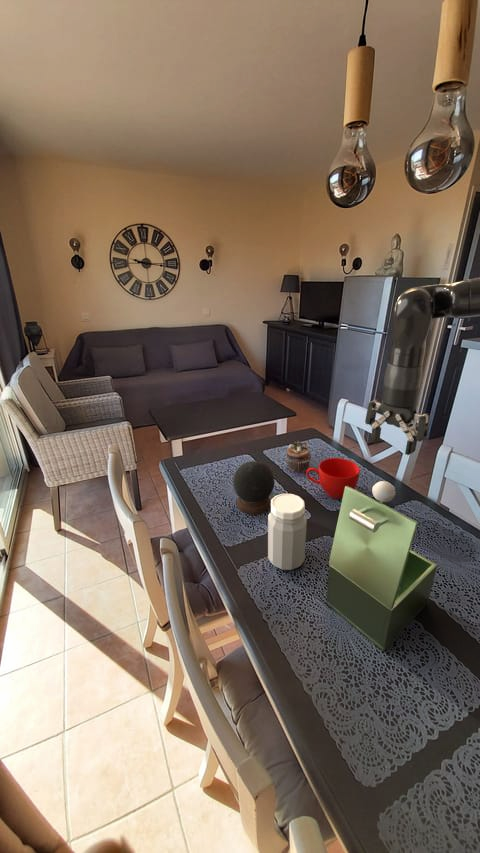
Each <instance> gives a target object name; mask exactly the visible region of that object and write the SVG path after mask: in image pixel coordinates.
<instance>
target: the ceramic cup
mask: <svg viewBox="0 0 480 853" xmlns="http://www.w3.org/2000/svg"><path fill="white" fill-rule="evenodd" d="M310 471H311V472H315V473H316V474H317V476H318V478H319V480H318V479H315V478H313V477H312V476H310V474H309V472H310ZM305 472H306V473H305V474H306V477H307V478H308V479H309V480H310V481H311V482H313V483H314V484H315V483H316V484H318V485H320V487H321V488H322V489H323V491H324V492H325V493H326V494H327V496H329V497H331V498H333V499H337V500H338V499H339V500H340V499H341V500H342V499H343V494H344V490H345V486H349V487H351V488H353V489H355V490H356V487H357V484H358V482H359V477H360V474H361V473H360V472H361V469H360V467H359V466H358V464H356V463H355V462H354V461H352V460H349V459H346V458H341V457H331V458H325V459H323V460H321V462H320V463H319V464H318V469H317V468H315V467H308V470H306V471H305Z"/></svg>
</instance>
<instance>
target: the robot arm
mask: <svg viewBox="0 0 480 853" xmlns="http://www.w3.org/2000/svg"><path fill="white" fill-rule="evenodd" d="M393 313H394V315H393V324H392V327H393V328H392V339H391V342H390V346H389V352H388V359H387V364H386V369H385V372H384V377H383V386H382V394H381V402H380V401H379V400H378V399H374V400H371V401H369V402H368V405H367V410H366V415H365V421H364V423H365V424H366V425H369V426H370V427H371V434H370V435H371V436H370V438H371V440H372V441H371V442H372V443H373V444H377V443H379V442H380V440H381V433H382V427H381V426H383V424H384V423H386V425H388V426H389V425H390V426H394V427H396V428H398V429H399V428H401V430H402V432H403V433H404V434H405V436H406V437H407V441H406V446H405V452H404V454H405V455H406V456H410V455H412V454H414V453H415V452H416V449H417V444H418V442H423V441H424V440H426V439H427V438H428V434H429V427H430V420H431V415H430V413H424V414H423V413H419V412H417V405H418V400H419V395H420V388H421V383H422V378H423V367H424V366H423V365H424V359H425V355H426V347H427V337H428V334H429V330H430V326H431V322H432V320H433V319H434V320H435V319H440V318H453V319H464V318H465V319H466V318H473V317H480V277H474V278H468V279H464V280H459V281H455V282H451V283H440V284H431V285H422V286H415V287H411V288H408V289H406V290H405V291H403V292H402V293H401V294H400V295H399V297H398V299H397V301H396V303H395V307H394V312H393ZM378 410H379V411H380V413H381V416H380V417H378V418H377V412H378ZM376 418H377V419H376ZM413 420H416V424H417V426H416V424H415V423H414V421H413ZM416 427H417V429H416Z"/></svg>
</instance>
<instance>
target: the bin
mask: <svg viewBox="0 0 480 853" xmlns="http://www.w3.org/2000/svg"><path fill="white" fill-rule="evenodd" d="M437 568H438V564H437V563H435V562H434V561H432V560H429V559H428V558H426V557H425V556H422V555H421V554H419V553H418V552H416V551H414V550H412V549H410V552H409V556H408V559H407V563H406V566H405V569H404V573H403V576H402V579H401V583H400V586H399V590H398V593H397V596H396V600H395V603H394V607H393V608H392V609H389V608H388V607H387V606H385V605H384V604H383V603H381V602H380V601H378V600H377V599H376V598H374V597H373V596H372V595H370V594H369V593H368V592H366V591H365V590H363V589H362V588H361V587H359V586H358V585H357V584H355V583H354V582H353V581H351V580H350V579H349V578H347V577H346V576H344V575H343V574H342V573H340V572H339V571H338V570H336V569H335V568H334V567H332V566H331V565H329V566H328V577H327V587H326V598H325V605H327V606H328V607H329V608H330V609H331V610H333V611H334V612H335V613H336V614H338V615H339V616H340V617H341V618H342V619H343V620H344V621H346V622H347V623H348V624H349V625H351V627H353V628H354V629H355V630H357V632H359V633H360V634H361V635H362V636H364V638H366V639H367V640H368V641H370V642H371V643H372V644H373V646H374V645H375V646H376V647H377V648H378V649H379V650H380V651H381V652H382V653H383V652H385V651H386V650H387V649H388V647H390V646H391V644H392V643H393V642H394V641H395V640H396V639H397V638H398V637H399V636H400V634H402V633H403V631H404V630H405V629H406V628H407V627H408V626H409V625H410V624H411V622H412V621H414V620H415V619H416V618H417V617H418V615H419V614H421V612H422V611H423V610H424V609H425V607H427V606H428V603H429V599H430V595H431V593H432V588H433V584H434V580H435V576H436V573H437Z"/></svg>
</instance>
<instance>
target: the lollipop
mask: <svg viewBox="0 0 480 853" xmlns="http://www.w3.org/2000/svg"><path fill="white" fill-rule="evenodd" d="M371 491H372V495H373V497H374V498H375V500H376V501H378V502H380V503H382V504H384V503H389V502H391V501H392V500H393V499H394V498H395V496H396V489H395V488H394V486H393V485H392V484H391V483H390V482H389V481H386V480H381V481H377V482H376V483H375V484H374V485H373V486H372V489H371Z"/></svg>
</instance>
